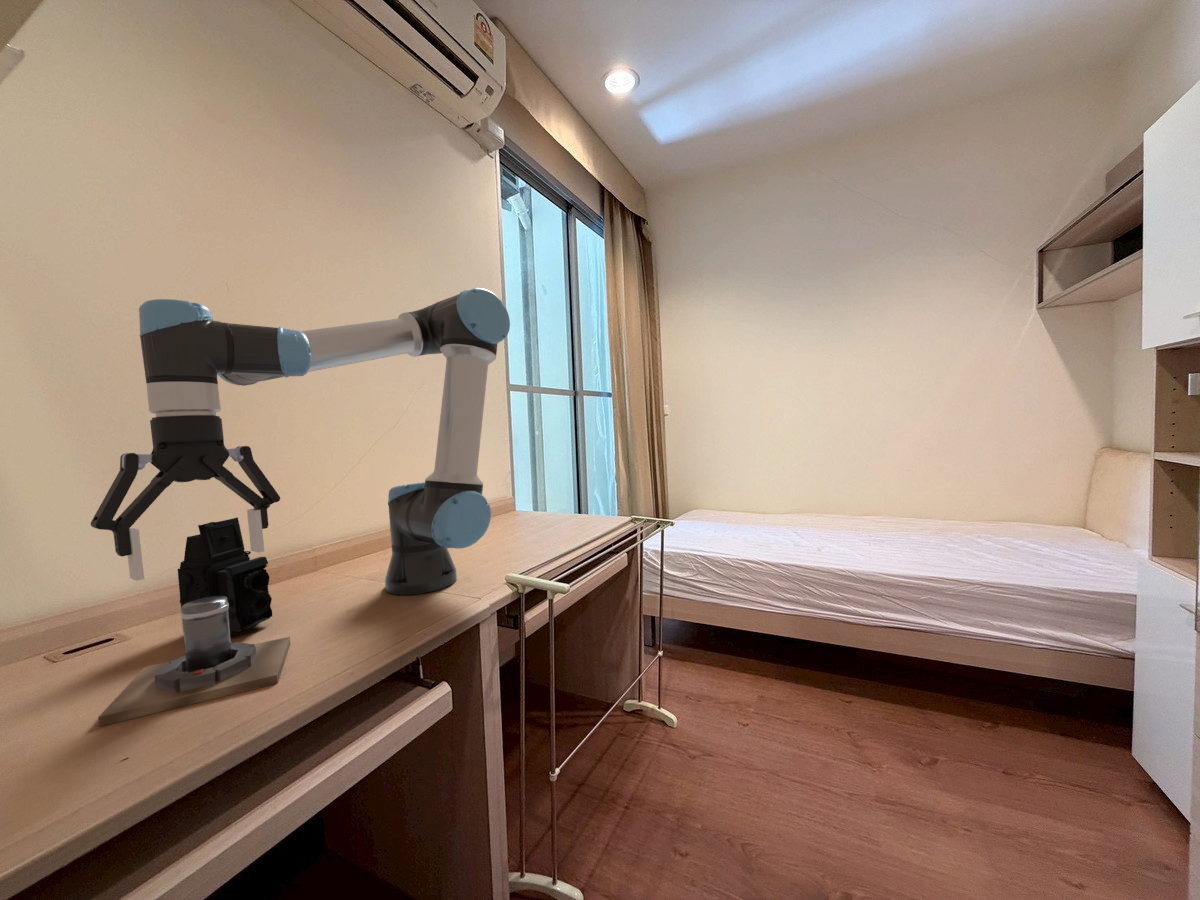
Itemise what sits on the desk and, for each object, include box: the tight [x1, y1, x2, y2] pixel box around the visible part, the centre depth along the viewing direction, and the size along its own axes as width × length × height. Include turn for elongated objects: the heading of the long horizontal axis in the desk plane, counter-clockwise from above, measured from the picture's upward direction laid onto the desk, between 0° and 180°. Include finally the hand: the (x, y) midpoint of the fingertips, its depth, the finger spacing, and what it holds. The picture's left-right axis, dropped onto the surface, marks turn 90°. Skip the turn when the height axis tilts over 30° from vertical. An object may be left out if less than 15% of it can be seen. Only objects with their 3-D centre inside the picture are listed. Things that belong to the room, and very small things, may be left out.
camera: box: [177, 517, 273, 637], centre depth 83 cm, size 10×14×20 cm
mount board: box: [97, 636, 291, 727], centre depth 67 cm, size 18×14×3 cm
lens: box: [180, 596, 232, 673], centre depth 66 cm, size 6×5×10 cm
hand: (202, 564), depth 66 cm, fingers open, 13 cm apart
